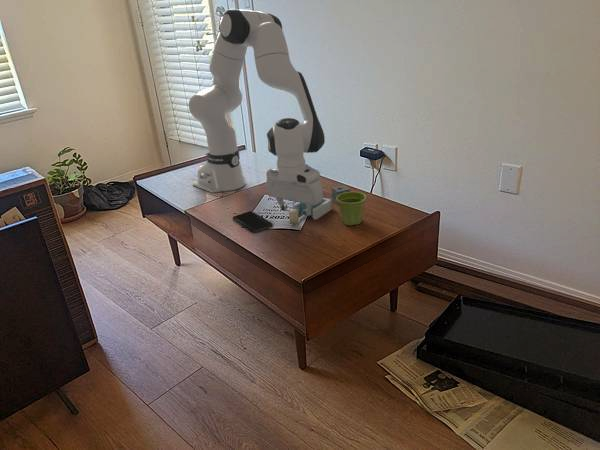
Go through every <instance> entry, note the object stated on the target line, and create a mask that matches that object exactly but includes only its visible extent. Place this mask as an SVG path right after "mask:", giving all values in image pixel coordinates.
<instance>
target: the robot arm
mask: <svg viewBox="0 0 600 450" xmlns="http://www.w3.org/2000/svg"><path fill="white" fill-rule="evenodd" d="M218 30H219V31H218V34H217V38H216V40H215V44H214V47H213V52H212V56H211V59H210V64H209V72H210V73H211V76H213V77H212V85H211V86H210V87H208V88H205V89H202V90H199V91H198V92H196V93H195V94H194V95H192V96H191V97H190V99H189V101H188V109H189V112H190V114H191V116H192V117H193V118H194V119H196V120H197V121H198V122H199V123H200V124H201V126H202V128H203V130H204V133H205V136H206V140H207V141H206V142H207V148H208V152H207V153H205V154H204V155H205V156H204V157H205V158H207V160H206V162H204V163H203V165H202V166H200V168H198V170H197V179H195V180H194V181H193V182H192V185H193V187H197V188H199V189H202V190H204V191H207V192H209V193H213V194H214V193H220V192H229V191H234V190H237V189H240V188H243V187H244V186H245V185H246V184H247V182H246V177H245V175H244V173H243V170H242V169H243V168H242V165H241V161H240V158H241V157H240V152H239V151H240V150H239V149H238V143H237V136H236V131H235V129H234V128H233V127H232V126H230V125H229V123H228V121H227V118H226V114H229V113H232V112H234V111H235V110H236V109H237V108H238V107H240V105H241V104H242V102H243V93H242V91H241V89H240V85H239V84H240V76H241V72H242V70H243V69H242V68H243V64H244V60H245V58H246V54H247V50H248V47H252V49H253V56H254V57H253V58H254V63H255V68H256V72H257V75H258V76H257V77H258V78H259V79H260V81H261V82H263V83H264V84H265V85H266V86H269V87H271V88H273V89H276V90H281V91H284V92H287V93H289V94H291V95H293V96H294V97H295V98H296V100H297V102H298V105H299V108H300V111H301V114H302V118H303V121H302V122H300V121H299V120H298V119H295V118H290V117H286V118H281V119H279V120H277V121H275V124H274V126H272V127H271V128H270V129H269V130H268V131H267V133H266V139H267V149H268V152H269V153H271V154H272V155H273V156H276V157H277V161H276V166H277V167H276V168H277V169H274V168H269V169H268V170H267V171H266V194H267V196H268V197H272V198H275V199H276V201H277V204H278V205H279V206H280V211H283V212H285V211H287V210H288V204H287V203H285V201H284V200H286V201H291V202H292V201H293V202H294V201H296V202H301V203H306V206H308V207H307V209H306V210H304V214H303V215H307V217H310V216H309V215H310V214H311V208H312V206H313V205H317V204H319V203H321V202H322V200H323V198H324V192H323V184H322V182H321V180H320V177H321V172H320V171H319V170H318V169H315V168H313V167H311V166H310V165H308V164H306V160H305V157H304V153H307V154H309V153H311V154H312V153H313V154H314V153H317V152H319V151H320V150H321V149H322V147H323V146H324V144H325V141H326V139H325V137H326V136H325V132H324V129H323V127H322V124H321V122H320V120H319V117H318V115H317V111H316V109H315V105H314V103H313V99H312V97H311V93H310V90H309V87H308V85H307V82H306V80H305V78H304V76H303V73H302V72H300V71H298V70H297V69H295V67H294V65H293V64H292V62H291V59H290V53H289V48H288V44H287V41H286V37H285V34H284V31H283V26H282V21H281V19H279V17H277V16H276V15H274V14H272V13H265V12H262V11H257V10H253V9H252V10H248V9H237V8H230V9H226V10H224V11H223V13H222V14H221V16H220V18H219V23H218Z"/></svg>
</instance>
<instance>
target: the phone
mask: <svg viewBox="0 0 600 450" xmlns="http://www.w3.org/2000/svg"><path fill="white" fill-rule="evenodd" d="M232 220H233V221H234V222H236V223H237V224H238V225H239V226H241V227H243V228H244V229H246V230H247V231H248V232H250V233H253V234H256V233H259V232H262V231H265V230H268V229H271V228H273V227H272V226H274V225H273V222H271V221H269V220H267V219H266V218H264V217H263V216H261V215H259V214H258V213H255V212H254V211H251V210H249V211H246V212H243V213H240V214H237V215H234V216H233V217H232ZM270 227H271V228H270Z"/></svg>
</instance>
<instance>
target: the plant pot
mask: <svg viewBox="0 0 600 450" xmlns="http://www.w3.org/2000/svg"><path fill="white" fill-rule="evenodd" d="M336 199H337V201H338V204H339V205H338V207H339V211H340V216H341V221H342V222H343V224H344V225H347V226H354V225H359V224H361V223H362V220H363V212H364V204H365V201H366V199H367V195H366V194H365V193H363V192H360V191H351V192H345V193H342V194H339V195H338V196H337V197H336Z"/></svg>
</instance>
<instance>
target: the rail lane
mask: <svg viewBox="0 0 600 450" xmlns="http://www.w3.org/2000/svg"><path fill="white" fill-rule="evenodd" d="M292 209H296V210H298V213H299V212H300V213H301V203H300V202H297V203H295V202H294V204H292ZM332 210H333V201H332V198H331V199H330V198H325V197H323V200H322V202H321V204H320V205H319V206H317V207H315V208H314V209H313V217H312V219H313V220H318V219H320V218H321V217H322V216H325V214H327V213H329V212H330V211H332ZM300 213H299V214H300Z"/></svg>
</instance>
